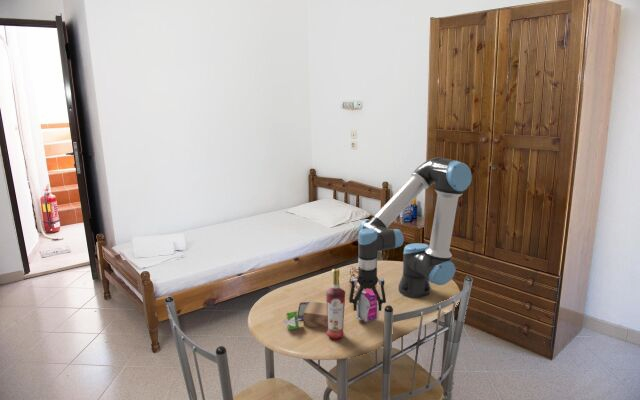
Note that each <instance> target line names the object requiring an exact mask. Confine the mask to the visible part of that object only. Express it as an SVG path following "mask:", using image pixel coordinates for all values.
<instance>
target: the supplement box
mask: <svg viewBox="0 0 640 400" xmlns="http://www.w3.org/2000/svg"><path fill="white" fill-rule="evenodd" d="M357 302H358V319H359V318H360V319H361V320H362V322H364V323H367V322H371V321H374V320H378V319H377V302H378V301H377V295H375V294H374V292H373V290H372V289H364V290H363V291H362V293H361V295H360V297H359V299H358V301H357Z"/></svg>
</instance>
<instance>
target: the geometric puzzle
mask: <svg viewBox="0 0 640 400" xmlns="http://www.w3.org/2000/svg"><path fill="white" fill-rule="evenodd" d="M301 321H303V318H301V317H300V318H299V317H298V312H297V311H292V312H291V311H290V312H287V313H286V315H285V318H284V319H283V323H284V324H286V325H287V328H288V331H290V330H294V329H295V330H296V329H300V325H301Z"/></svg>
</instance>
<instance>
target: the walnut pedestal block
mask: <svg viewBox="0 0 640 400" xmlns="http://www.w3.org/2000/svg"><path fill="white" fill-rule="evenodd" d="M302 315H303V316H302V317H303V318H302V322H303V323H302V324H303V326H306V327H314V328H319V329H320V328H321V329H328V318H327V302H317V301H309V302H308V303H307V305H306V307H305V308H304V311H303V312H302Z"/></svg>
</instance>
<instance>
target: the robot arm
mask: <svg viewBox="0 0 640 400" xmlns="http://www.w3.org/2000/svg"><path fill="white" fill-rule="evenodd" d="M471 183H472V170H471V169H470V167H469V166H468V165H467V164H466V163H464V162H461V161H459V160H455V159H449V158H444V157H432V158H430V159H428V160H426V161H424V162H423V163H422V164H421V165H419V166H418V167H416V169H415V170H413V172H411V175H410V178H409V179H408V180H407V181H406V182H405V183H404V184H403V185H402V187H400V189H398V190H397V191H396V193H394V195H392V197H391V198H390V199H389V200H388V201H387V202H386V203H385V204H384V205H383V206H382V207H381V208H380V209H379V210H378V211H377V212H376V213H375V214H374V216H373V217H372V218H370V219H365V220H363V221H361V222H360V224H359V227H358V236H357V237H358V238H357V239H358V240H357V243H358V248H357V249H358V251H357V252H358V254H357V255H358V258H357V259H358V260H357V261H358V264H357V265H358V269H357V271H358V276H357V278H351V279H350V284H351V287H350V293H349V299H348V301H349V303H350V304H351V303H352V304H353V311H354V312H355V313H356V316H355V317H356V318H355V319H357V320H358V319H359V317H358V299H359V297H360V295H361V293H362V291H364V290H369V289H370V290H371V291H373V292H374V294H375V295H377V319H376V320H379V319H380V316H379V315H380V313H379V312H382V306H383V305H382V304H386V303H387V300H386V294H385V283H386V282H385V279H384V278H378V252H382V251H387V250H392V249H396V248H400V247H402V246H403V244H404V241H405V239H404V234H403V232H402V230H400V229H398V228H396V229H395V228H392V229H388V228H389V226H390V225H391V224H392V223H393V222H394V221H395V220H396V219H397V218H398V217H399V216H400V215H401V214H402V213H403V212H404V211H405V210H406V208H408V206H409V205H410V204H411V203H412V202H413V201H414V200H415V199H416V198H417V197H418V195H420V194H421V193H422V191H423V190H427V189H429V187H430V186H432V185H435V186H434V191H435V193H436V194H437V197H436V203H435V209H434V216H433V222H432V227H431V233H430V241H429V244H427V243H421V242H420V243H419V242H417V243H415V242H414V243H408V244H407V245H405V247H404V249H403V252H402V253H403V259H402V260H403V262H402V265H403V266H402V275H401V278H400V279H399V283H398V288H397V289H398V292H399V293H400V294H401V295H402V296H405V297H409V298H413V299H414V298H415V299H421V298H427V297H428V296H430V294H431V293H432V286H431V283H432V284H435V285H436V286H443V285H446V284H448V283H449V282H450V281H452V280H453V278H454V276H455V273H456V266H455V264H454V262H452V257H453V255H452V253H451V251H450V247H451V242H452V237H453V231H454V224H455V218H456V212H457V207H458V202H459V197H462V195H463V194H464V193H463V192H464V191H465V190H467V189H468V188H469V186H470V184H471ZM377 283H378V285H379V286H380V291H381V297H382V298H381V297H380V293H378V290H377V287H376V285H377ZM357 284H359V286H358V290H357V292H356V294H355V296H354V292H355V287H356V286H355V285H357Z"/></svg>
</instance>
